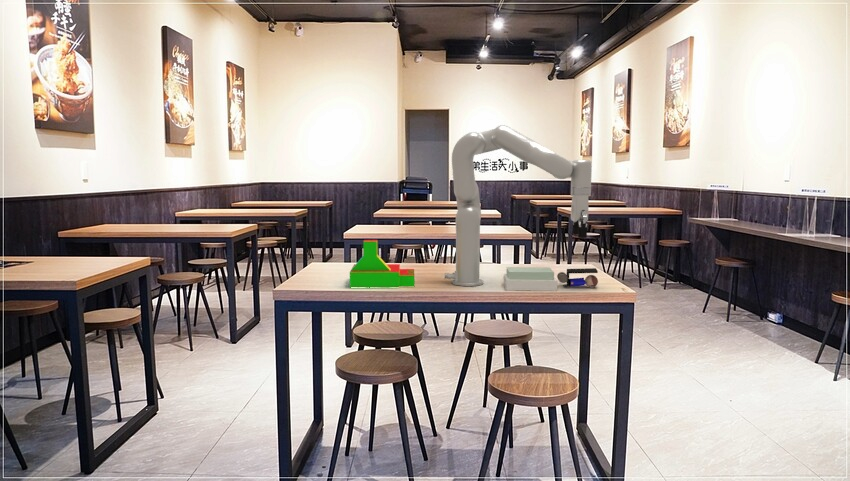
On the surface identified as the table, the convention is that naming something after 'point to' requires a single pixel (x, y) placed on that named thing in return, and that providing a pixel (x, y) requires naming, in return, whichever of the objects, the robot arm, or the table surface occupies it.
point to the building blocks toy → (378, 270)
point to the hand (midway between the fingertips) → (579, 236)
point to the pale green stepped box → (530, 279)
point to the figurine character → (589, 280)
